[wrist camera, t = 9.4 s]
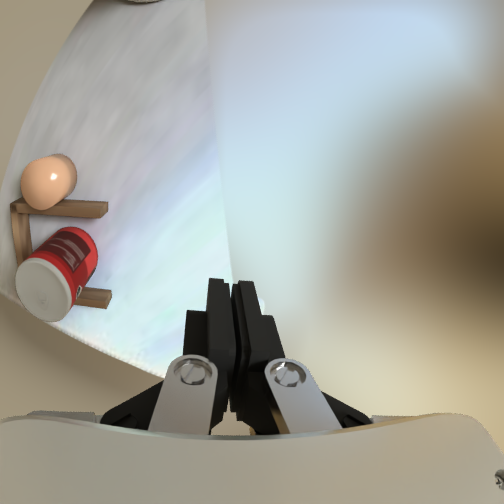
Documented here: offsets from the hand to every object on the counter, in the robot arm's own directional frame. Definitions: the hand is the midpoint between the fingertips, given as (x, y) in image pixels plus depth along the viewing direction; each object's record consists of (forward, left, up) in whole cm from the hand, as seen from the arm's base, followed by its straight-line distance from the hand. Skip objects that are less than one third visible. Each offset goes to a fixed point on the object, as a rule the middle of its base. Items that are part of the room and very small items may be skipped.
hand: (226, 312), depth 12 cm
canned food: (+11, -19, -27) cm, 35 cm away
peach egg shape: (+1, -21, -27) cm, 34 cm away
